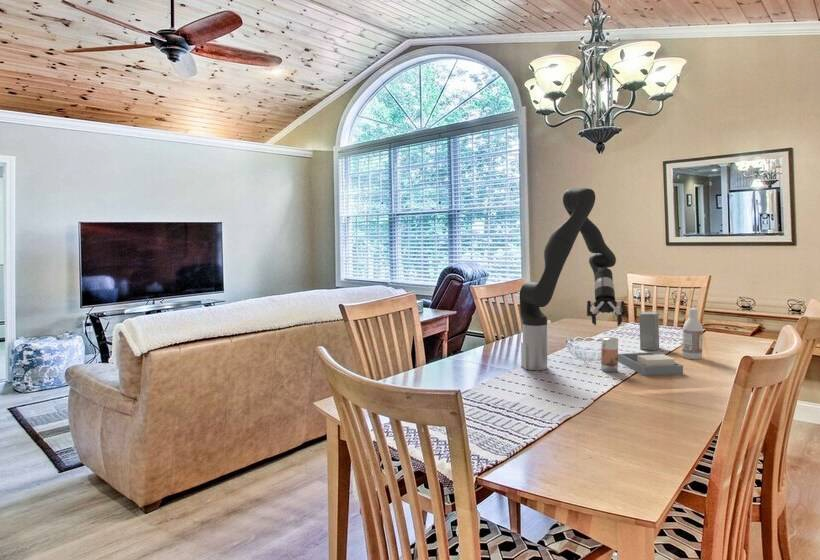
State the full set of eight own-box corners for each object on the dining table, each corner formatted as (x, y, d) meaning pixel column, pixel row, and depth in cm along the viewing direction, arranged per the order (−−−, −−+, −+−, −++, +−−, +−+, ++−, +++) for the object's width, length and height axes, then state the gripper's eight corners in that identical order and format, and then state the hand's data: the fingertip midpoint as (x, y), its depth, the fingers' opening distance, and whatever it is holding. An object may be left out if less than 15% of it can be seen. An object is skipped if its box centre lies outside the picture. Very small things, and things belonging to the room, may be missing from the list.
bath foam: (698, 360, 199) (700, 310, 197) (679, 357, 204) (681, 309, 202) (704, 357, 204) (705, 308, 202) (685, 354, 209) (687, 306, 207)
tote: (644, 378, 178) (644, 367, 178) (617, 363, 198) (617, 353, 198) (682, 376, 179) (683, 365, 179) (652, 362, 199) (652, 352, 198)
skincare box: (655, 351, 216) (656, 314, 214) (637, 349, 220) (638, 313, 219) (659, 347, 223) (660, 311, 221) (642, 345, 227) (643, 310, 225)
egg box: (647, 373, 180) (647, 360, 180) (637, 368, 187) (637, 355, 187) (674, 372, 181) (674, 358, 180) (663, 367, 188) (663, 354, 187)
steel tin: (605, 376, 182) (605, 340, 181) (598, 371, 188) (598, 337, 187) (620, 375, 183) (621, 339, 182) (613, 370, 188) (613, 336, 187)
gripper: (586, 285, 204) (587, 318, 194) (624, 285, 200) (627, 319, 190) (585, 296, 209) (586, 329, 199) (622, 296, 205) (625, 330, 195)
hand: (606, 324), depth 195 cm, fingers open, 8 cm apart
